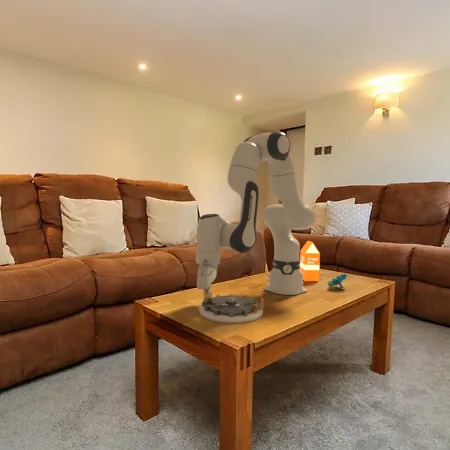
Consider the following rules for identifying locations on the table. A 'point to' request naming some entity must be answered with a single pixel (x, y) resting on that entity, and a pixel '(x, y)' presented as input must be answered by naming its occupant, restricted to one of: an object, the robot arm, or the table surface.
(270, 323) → the table surface
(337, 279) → the teal green toy figure
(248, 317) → the sprocket base
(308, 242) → the orange juice
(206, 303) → the sprocket
